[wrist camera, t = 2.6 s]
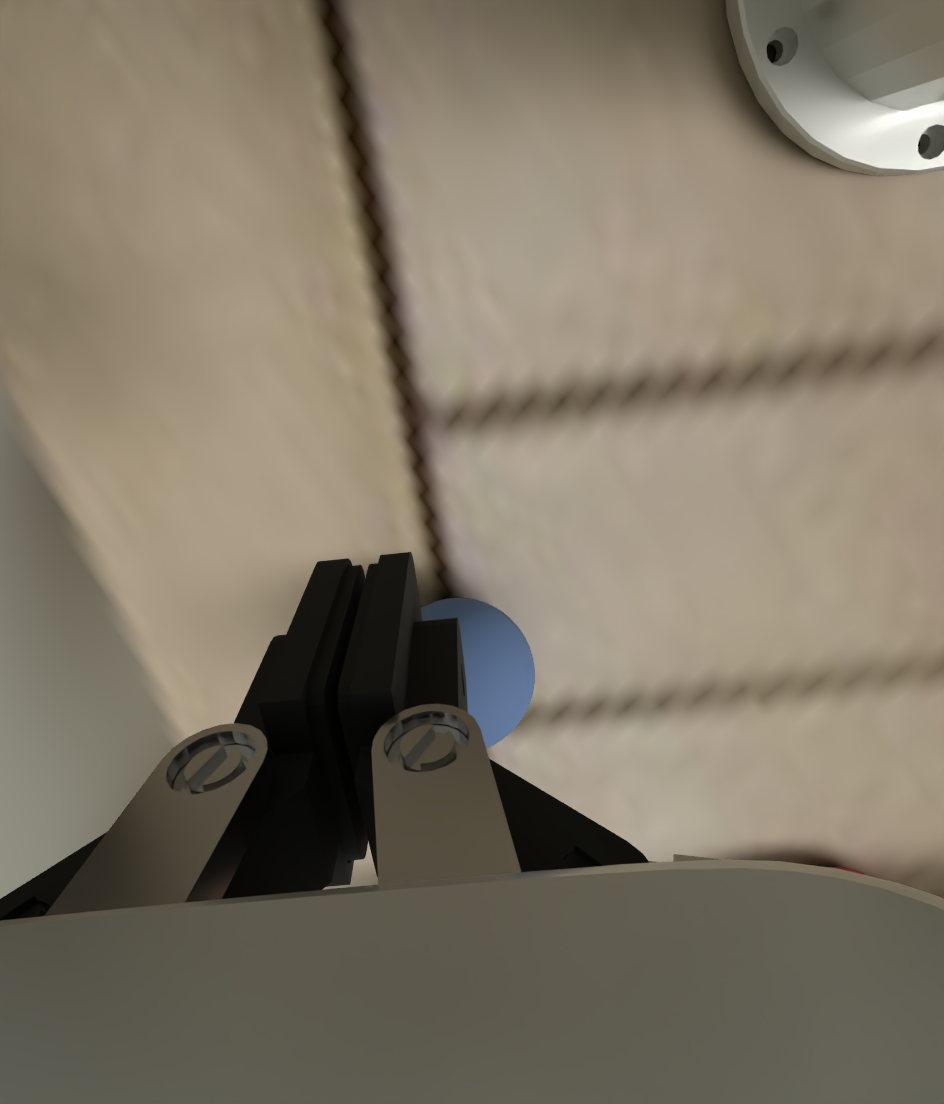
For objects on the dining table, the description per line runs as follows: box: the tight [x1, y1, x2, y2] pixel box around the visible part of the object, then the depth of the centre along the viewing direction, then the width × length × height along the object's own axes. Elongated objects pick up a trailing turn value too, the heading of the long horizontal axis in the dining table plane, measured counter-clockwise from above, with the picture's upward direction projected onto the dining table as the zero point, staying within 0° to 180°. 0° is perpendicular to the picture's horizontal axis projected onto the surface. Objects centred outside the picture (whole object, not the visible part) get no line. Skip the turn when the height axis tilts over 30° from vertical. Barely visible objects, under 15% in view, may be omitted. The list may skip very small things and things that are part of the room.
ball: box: [421, 598, 535, 748], centre depth 25 cm, size 6×6×6 cm
